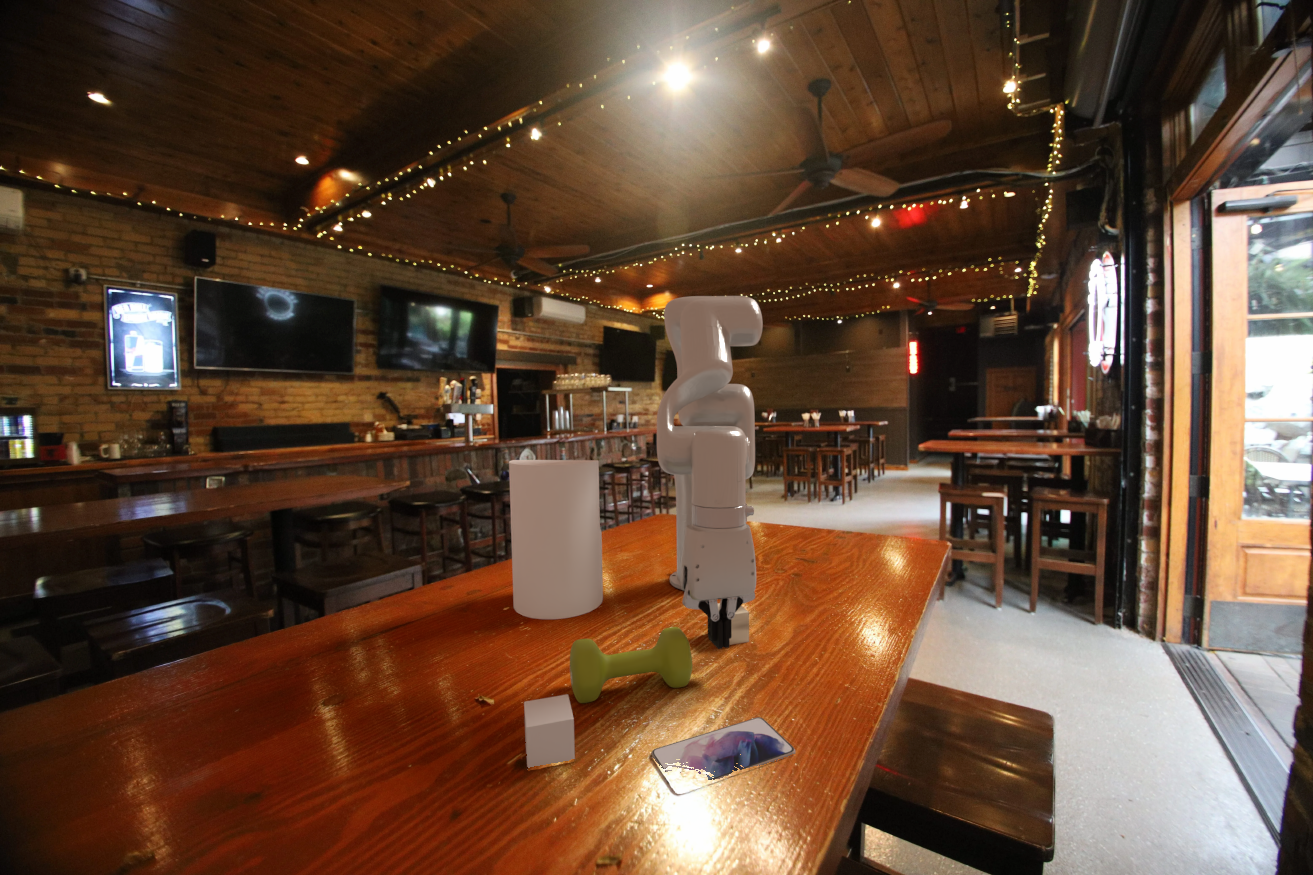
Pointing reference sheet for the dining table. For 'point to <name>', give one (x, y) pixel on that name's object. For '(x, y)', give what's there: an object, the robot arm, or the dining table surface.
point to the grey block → (549, 731)
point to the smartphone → (727, 749)
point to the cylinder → (555, 537)
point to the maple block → (739, 626)
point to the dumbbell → (629, 664)
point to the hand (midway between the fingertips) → (719, 644)
